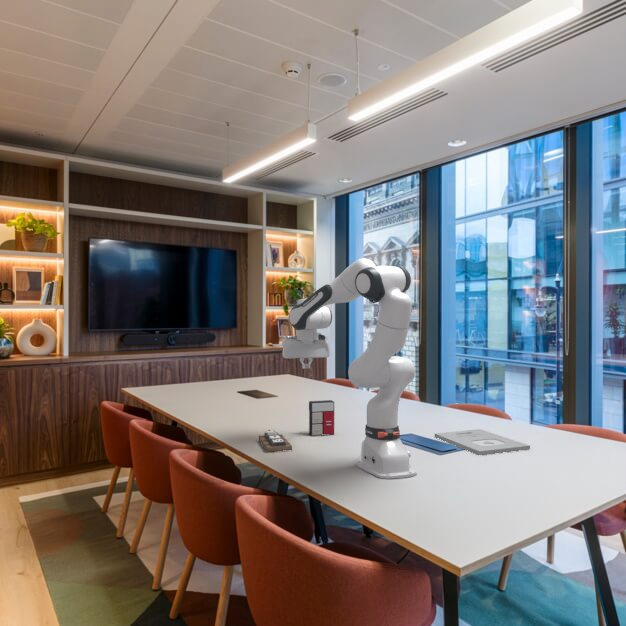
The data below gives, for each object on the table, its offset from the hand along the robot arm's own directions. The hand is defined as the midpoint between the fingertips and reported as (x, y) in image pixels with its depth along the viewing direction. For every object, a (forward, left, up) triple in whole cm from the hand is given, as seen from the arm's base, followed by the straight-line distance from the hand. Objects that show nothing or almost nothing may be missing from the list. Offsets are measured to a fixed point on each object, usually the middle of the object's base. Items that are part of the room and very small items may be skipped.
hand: (306, 368), depth 210 cm
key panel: (-2, +14, -31) cm, 34 cm away
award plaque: (-22, -70, -32) cm, 80 cm away
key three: (-8, +14, -29) cm, 33 cm away
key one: (-2, +14, -29) cm, 32 cm away
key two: (+4, +14, -28) cm, 32 cm away
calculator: (+10, -10, -31) cm, 34 cm away
